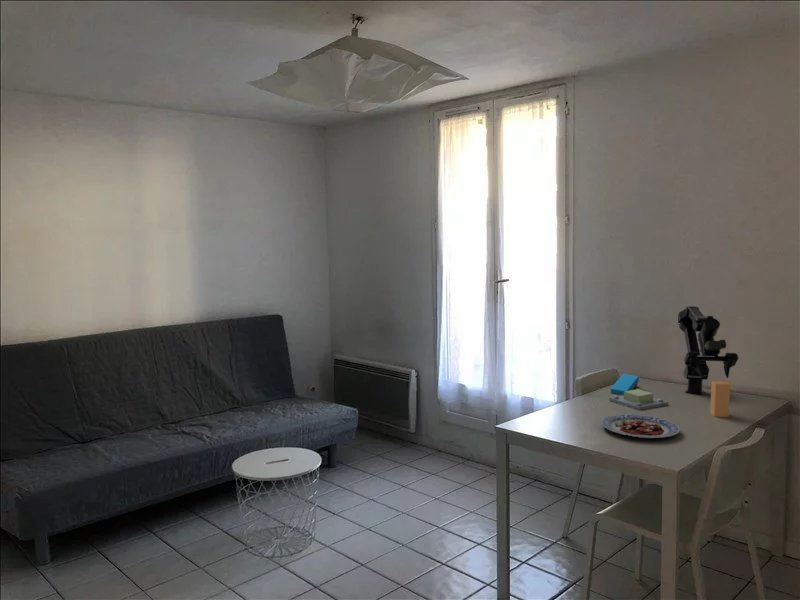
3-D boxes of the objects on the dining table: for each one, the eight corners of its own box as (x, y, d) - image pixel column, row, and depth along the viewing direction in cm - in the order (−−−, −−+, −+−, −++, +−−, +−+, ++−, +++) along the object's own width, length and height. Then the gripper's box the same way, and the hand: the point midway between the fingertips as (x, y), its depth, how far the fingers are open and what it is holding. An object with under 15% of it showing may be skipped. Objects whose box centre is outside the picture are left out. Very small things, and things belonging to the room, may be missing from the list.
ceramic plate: (695, 435, 222) (696, 426, 222) (644, 448, 209) (645, 439, 209) (635, 416, 244) (635, 408, 244) (585, 427, 232) (586, 419, 231)
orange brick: (710, 412, 247) (711, 380, 246) (724, 413, 246) (725, 381, 245) (714, 416, 242) (715, 384, 241) (728, 417, 241) (730, 384, 240)
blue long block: (627, 405, 275) (642, 386, 287) (626, 391, 273) (641, 372, 285) (611, 402, 279) (627, 384, 292) (610, 388, 277) (626, 370, 290)
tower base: (637, 395, 273) (637, 385, 272) (668, 404, 258) (668, 394, 258) (609, 400, 266) (609, 390, 265) (639, 410, 251) (639, 399, 251)
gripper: (687, 331, 255) (694, 365, 245) (738, 332, 252) (746, 366, 242) (681, 347, 263) (687, 380, 254) (730, 348, 260) (738, 382, 251)
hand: (714, 377), depth 250 cm, fingers open, 9 cm apart
